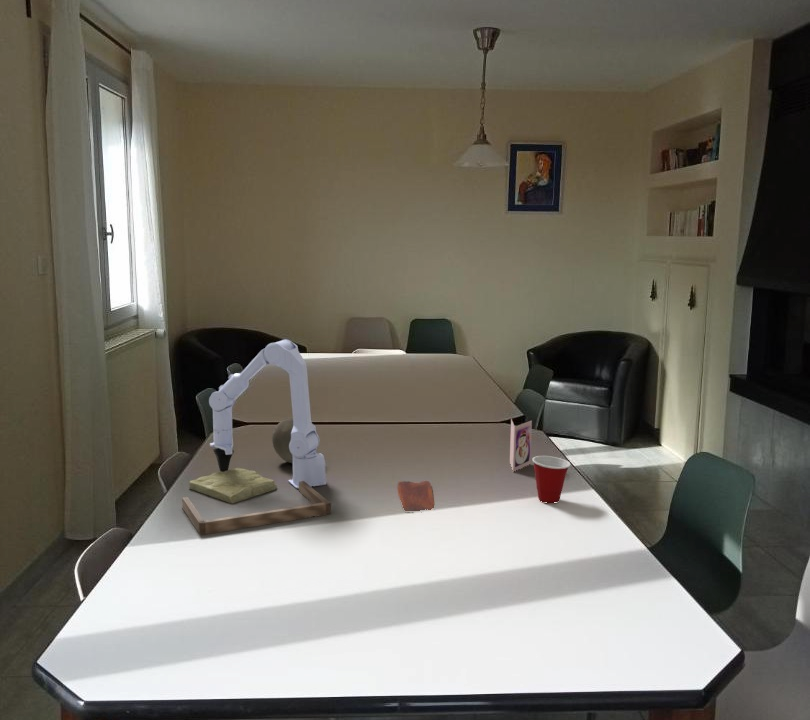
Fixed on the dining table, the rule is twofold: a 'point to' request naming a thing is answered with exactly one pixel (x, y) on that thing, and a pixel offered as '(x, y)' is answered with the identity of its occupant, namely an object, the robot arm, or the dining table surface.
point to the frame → (259, 514)
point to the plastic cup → (550, 477)
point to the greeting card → (520, 445)
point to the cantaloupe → (283, 439)
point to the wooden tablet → (416, 495)
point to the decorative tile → (233, 485)
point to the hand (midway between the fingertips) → (223, 471)
